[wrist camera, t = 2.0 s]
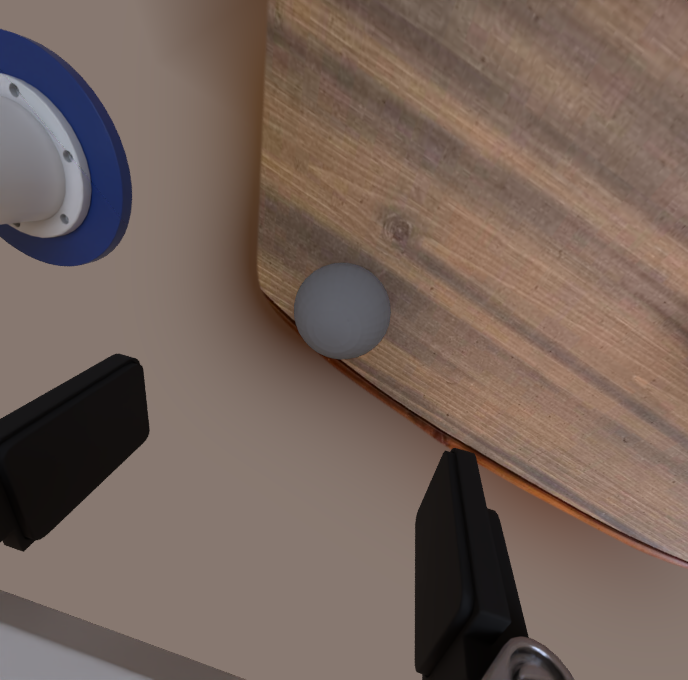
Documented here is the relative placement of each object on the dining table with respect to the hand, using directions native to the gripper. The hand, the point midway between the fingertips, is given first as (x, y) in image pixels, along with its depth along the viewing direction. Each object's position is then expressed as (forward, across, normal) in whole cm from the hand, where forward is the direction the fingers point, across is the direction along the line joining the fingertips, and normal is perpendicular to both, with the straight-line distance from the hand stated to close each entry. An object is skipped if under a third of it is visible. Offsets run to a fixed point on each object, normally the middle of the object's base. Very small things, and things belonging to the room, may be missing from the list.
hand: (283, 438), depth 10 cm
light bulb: (+19, +1, 0) cm, 19 cm away
